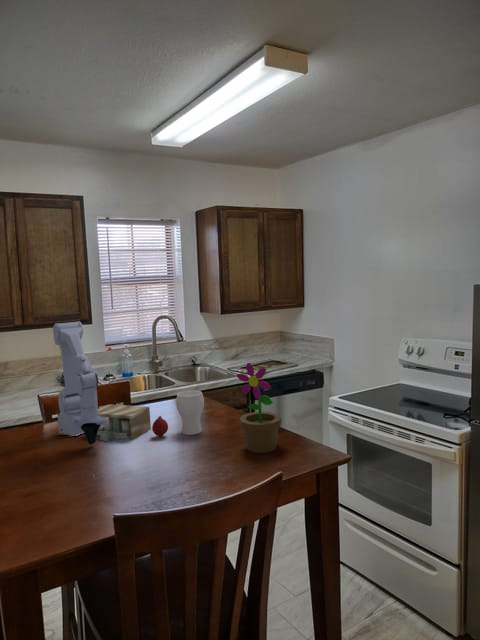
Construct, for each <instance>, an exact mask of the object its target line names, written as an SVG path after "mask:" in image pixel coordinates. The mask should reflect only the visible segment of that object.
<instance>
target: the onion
mask: <svg viewBox="0 0 480 640" xmlns="http://www.w3.org/2000/svg"><path fill="white" fill-rule="evenodd" d="M151 426H152V427H151V431H152V432H153V434H155V436H157V437H159V438H162V437H163V436H164V435H165V434H167V432H168V430H169V425H168V422H167V421H166V420H165V419H164V418H163V417H162V415H158V417H157V418H156V419H155V420H154V422H153V423H152V425H151Z"/></svg>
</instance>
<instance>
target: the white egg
mask: <svg viewBox="0 0 480 640" xmlns="http://www.w3.org/2000/svg"><path fill="white" fill-rule="evenodd" d="M121 422H122V433H127V432H129V431H130V420H123V421H121Z"/></svg>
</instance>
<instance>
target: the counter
mask: <svg viewBox="0 0 480 640" xmlns="http://www.w3.org/2000/svg"><path fill="white" fill-rule="evenodd" d="M98 416H99V417H102V418H107V419H108V418H112V419H113V417H116V418H122V421H123V420H130V431H131V436H130V440H134V441H135V440H137V438H139V437H141V436H143V435H144V434H145V433H147V432H149V431H150V430H152V427H151V426H152V424H151V423H152V422H151V410H150V406H140V405H126V404H125V405H123V404H107V405H105V406H103V407H100V408H98Z"/></svg>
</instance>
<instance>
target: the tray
mask: <svg viewBox="0 0 480 640" xmlns="http://www.w3.org/2000/svg"><path fill="white" fill-rule="evenodd" d="M121 421H122V418H116V417H113V431H104V426H102V427H100V428H99V429H98V432H97V435H100V436H99V437H100V441H101V440H103V442H109V441H111V440H112V439H115V438H118V439H119V438H122V439H129V438H131V431H129V432H127V433H122V422H121Z"/></svg>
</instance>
